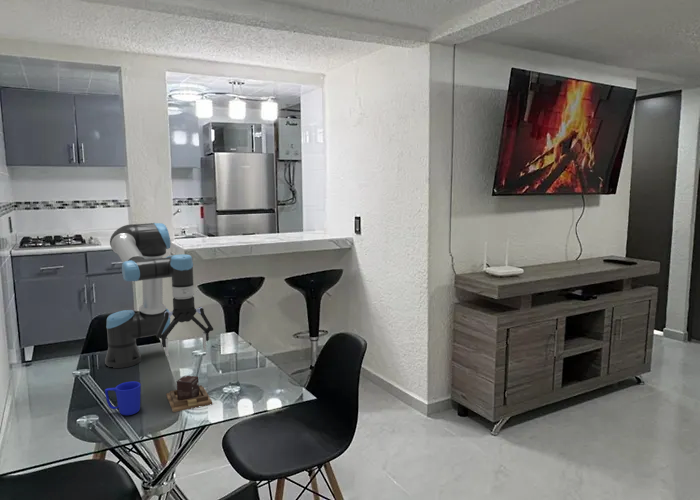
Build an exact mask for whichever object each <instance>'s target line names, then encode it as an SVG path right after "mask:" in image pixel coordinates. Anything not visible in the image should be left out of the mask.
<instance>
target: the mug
mask: <svg viewBox="0 0 700 500" xmlns="http://www.w3.org/2000/svg"><path fill="white" fill-rule="evenodd" d="M141 385H142V384H141V383H140V382H138V381H135V380H134V381H125V382H122V383H120V384H118V385H116V386H115V387H108V388H105V389H104V395H105V398H106V404H107V405H108V407H109V408H110V409H112V410H117V409H118V412H119V413H120V414H121V415H122V416H132V415H135V414H137V413H138V412H139V411H140V409H141V387H142V386H141ZM109 391H113V392H114V393H115V395H116V402H117V406H114V405H112V403H111V401H110V400H111V399H110V397H109Z"/></svg>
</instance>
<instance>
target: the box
mask: <svg viewBox="0 0 700 500" xmlns="http://www.w3.org/2000/svg"><path fill="white" fill-rule="evenodd" d="M199 384H200V383H199V375H198V376H195V375H184V376H182V377H180V378H179V379H178V380H176V390H177V399H178V400H185V399H190V398H196V397H197V396H198V395H199V386H200V385H199Z"/></svg>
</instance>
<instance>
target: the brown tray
mask: <svg viewBox="0 0 700 500" xmlns="http://www.w3.org/2000/svg"><path fill="white" fill-rule="evenodd" d="M165 395H166V399H167V401H168V403H169V405H170V408H171V411H172V413H176V412H182V411H185V410H190V409H191V408H192V409H196V408H195V407H197V408H200V407H199V406H202V407H206V406H211V405H213V401H212V399H211V397H210V395H209V394H208V392H207V390H206V389H205V387H204V386H203V385H199V395H198V396H197V397H196V398H190V399H185V400H178V399H177V389H175V390H173V389H172V390H169V392H168V393H165ZM210 404H211V405H210ZM205 405H206V406H205Z"/></svg>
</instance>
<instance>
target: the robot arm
mask: <svg viewBox="0 0 700 500" xmlns="http://www.w3.org/2000/svg"><path fill="white" fill-rule="evenodd" d="M109 239H110V240H109V245H110V248H111V250H112V251H113V252H114V253H115V254H117V255H118V257H119V258H120V261H121V262H122V264H121V273H122V277H123V278H122V279H123V281H124V282H139V281H141V282H142V283H141V284H142V286H141V287H142V305H141V306H139V309H138V310H139V311H138V312H135V311H134V310H133V309H124V310H120V311H119V310H118V311H117V312H113V313H111V314H109V315H108V316H107V318H106V326H105V327H106V333H107V347H108V348H107V352H106V356H105V359H104V363H105V364H106V365H107V366H109V367H113V368H112V369H124V368H128V367H133V366H135V365H137V364H139V363H141V362H142V355H141V353H140V351H139V348H138V347H139V346H138V345H137V339H139V338H147V337H152V336H155V337H156V338H157V339H161V346H162V348H164V349H165V350H164V352H165V356H166V357H169V356H170V354H169V339H168V335H169V334H170V333H171V331H172V330H173V329H174V328H175V326H176V325H178V323H184V322H186V323H187V322H190V321H193V322H194V323H195V324H196V325H197V327H199V328H201V330H202V332H201V334H202V349H203V351H204V352H205V351H207V342H209V338H210V337H209V333H210V332H212V331H214V326H212V324H211V322H210V321H209V319H208V318H207V315H206V314H205V310H204V308H203V307H202V306H200V307H198V308H196V307H195V305H196V304H195V296H194V295H195V290H194V289H195V288H194V263H193V257H192V255H190V254H186V253H185V254H182V253H181V254H174V255H169V256H166V257H164V256H165V255H166V254H167V250H169V249H171V245H172V243H171V235H170V233H169V230H168V227H167V225H165V224H164V223H163V222H159V223H158V222H153V223H152V222H151V223H135V224H133V223H132V224H131V223H130V224H126V225H125V224H124V225H123V226H120V227H118V228H117V229H116V230H115V231H114V232H113V233H112V234H111V236H110V238H109ZM165 278H171V286H172V287H171V290H172V297H173V298H172V311H170V310H169V308H167V306H166V305H165V304H163V303H164V301H163V300H164V299H163V298H164V297H163V296H164V295H163V293H164V292H163V283H164V282H163V279H165ZM196 313H198V314H199V315H200V316H201V318H202V319H203V321H204V323H205V325H206V326H207V327H205V326H204V325H203V323H202V322H200V321H199V320H198V318H196V317H195V314H196ZM171 316H173V319H172V320H171ZM109 367H108V368H109Z"/></svg>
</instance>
